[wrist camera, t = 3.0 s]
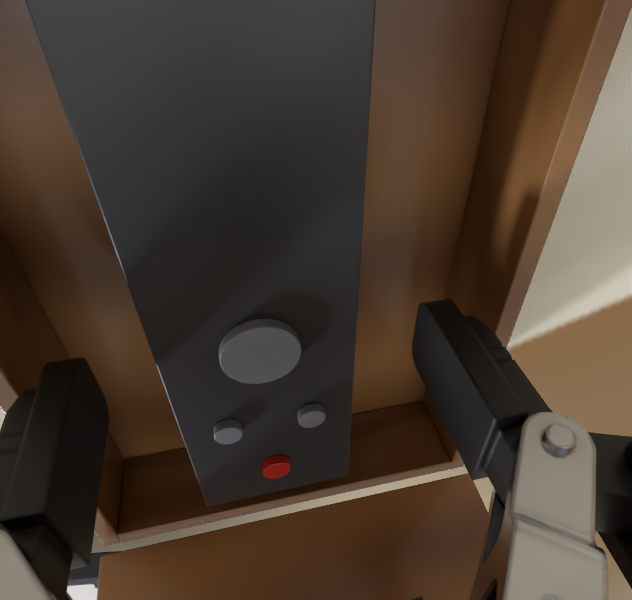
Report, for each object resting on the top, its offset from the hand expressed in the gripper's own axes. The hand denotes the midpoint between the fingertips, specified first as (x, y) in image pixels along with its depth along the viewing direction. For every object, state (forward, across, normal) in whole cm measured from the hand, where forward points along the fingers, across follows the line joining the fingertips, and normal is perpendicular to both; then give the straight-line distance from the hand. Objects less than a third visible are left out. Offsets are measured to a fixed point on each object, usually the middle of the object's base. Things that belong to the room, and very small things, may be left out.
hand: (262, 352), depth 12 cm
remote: (+3, 0, 0) cm, 3 cm away
